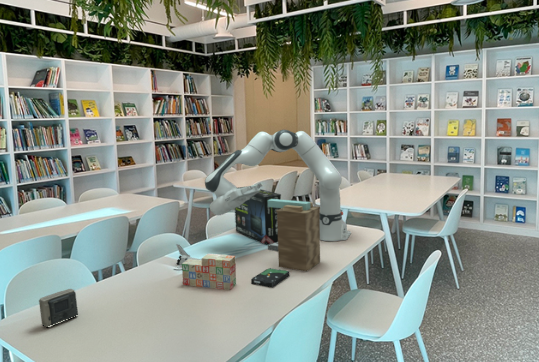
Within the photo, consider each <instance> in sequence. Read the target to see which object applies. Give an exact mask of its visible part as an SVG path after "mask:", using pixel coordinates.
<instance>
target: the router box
mask: <svg viewBox="0 0 539 362" xmlns="http://www.w3.org/2000/svg"><path fill="white" fill-rule="evenodd" d="M248 186H249V185H247V186H241V187H237V189H241V188H245V187H248ZM281 197H282V194H281V193H277V192H273V191H269V190H267V189H266V190H265V189H261V188H260V191H259V192H258V193H257V194H255V195H254V196H252V197H250V199H249V200H248V201H245V202H244V203H243V204H241V205H240V206H238V207H236V208H234V217H235V220H234V223H235V232H237V233H239V234H241V235H243V236H245V237H248V238H250V239H252V240H254V241H256V242H259V243H260V244H263V245H265V246H268V245H270V244H273V243H277V242H278V225H277V212H276V210H279V209H281V208H275V207H268V200H270V199H279V200H282V199H281Z"/></svg>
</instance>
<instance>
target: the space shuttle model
mask: <svg viewBox="0 0 539 362" xmlns="http://www.w3.org/2000/svg"><path fill="white" fill-rule="evenodd" d="M175 245H176V248H177V250H178V252H179V256H178V259H177V261H176V264H177V266H176V267H177V268H178V269H176V270H175V271H182V263H184V262H185V261H187V260H188V259H194V260H202V258H197V257H192V256H191V255H190V254H188V253H187V252H186V250H184V248H183V247H182V246H181V245H180V244H177V243H176V244H175Z"/></svg>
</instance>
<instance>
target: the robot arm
mask: <svg viewBox="0 0 539 362" xmlns="http://www.w3.org/2000/svg"><path fill="white" fill-rule="evenodd" d="M290 149H292V150H294V151H295V152H296V153H297V155H298V156H299V157H300V158H301V160H302V162H304V163H305V165H306V166H307V167H308V169H309V170H310V171H311V172H312V174H313V175H314V177H315V178H316V179H317V180H318V189H319V190H318V191H319V192H318V193H319V207H320V209H319V216H320V241H323V242H324V241H325V242H337V241H347V240H348V239H349V238H350V236H351V234H352V231H350V230H348V226H347V223H346V222H345V221H344V220H343V216H344V211H341V193H340V186H341V185H342V179H343V178H342V175H341V173H340V172H339V171H338V169H337V168H336V167H335V166H334V164H333V163H332V162H331V160H330V159H329V158H328V157H327V155H326V154H325V153H324V151H323V150H322V149H321V148H320V146H319V145H318V144H317V143H316V142H315V140H314V139H313V138H312V137H311V136H310V135H309V134H308V133H307V132H305V131H303V130H299V131H297V132H293V131H291V130H288V129H280V130H278V131H277V132H275V133H274V134H270V133H267V132H266V131H259V132H257V134H255V135H254V136H253V138H251V140H250V141H249V142H248V144H247V145H246V146H245V147H244V148H242V149H237V150H235V151H234V152H233V153H231V154H230V155H229V156H228V157H226V159H225V160H224V161H223V162H222V163H220V165H219V166H217V167H216V168H215V169H214V170H213V171H212V172H211V173H209V174H208V175H207V176H206V178H205V179H204V186H205V189H206V190H207V191H209V192H211V193H213V194H214V195H215V196H217V198H216V199H214V200H213V201H211V203H210V204H209V209H210V212H211V213H212V214H214V215H215V216H222V215H225V214H226V213H229V212H231V211H232V210H233V209H235V208H236V207H238V206H240V205H241V204H243V203H244V202H245V201H248V200H249V199H250V197H252V196H254V195H255V194H257V193H258V192H259V191H260V189H261V188H262V187H263V183H261V182H260V183H257V184H254V185H253V184H252V185H247V186H248V187H246V186H244V187H245V188H241V189H237V188H238V187H237V186H236V185H235V184H234V183H232V182H231V181H229V180H228V179H227V178H225V177H224V176H225V175H226V174H227V173H228V171H229V170H231V168H233V167H234V165H237V164H240V165H245V166H249V167H255V166H258V165H259V164H261V163H262V162H263V159H264V158H265V157H266V155H268V153H269V152H270V151H274V152H275V153H284V152H287V151H289V150H290Z"/></svg>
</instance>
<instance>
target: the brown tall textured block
mask: <svg viewBox="0 0 539 362" xmlns="http://www.w3.org/2000/svg"><path fill="white" fill-rule="evenodd" d="M309 202H310V209H309V210H303V206H292V205H286V206H283V208H281V209H279V210H276V212H277V225H278V251H277V257H278V258H277V259H278V268H284V269H290V270H295V271H299V272H300V271H301V272H308V271H310V270H312V268H315V266H317V265H318V264H320V263H321V240H320V216H319V213H320V206H314V201H312V202H311V201H309Z"/></svg>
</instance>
